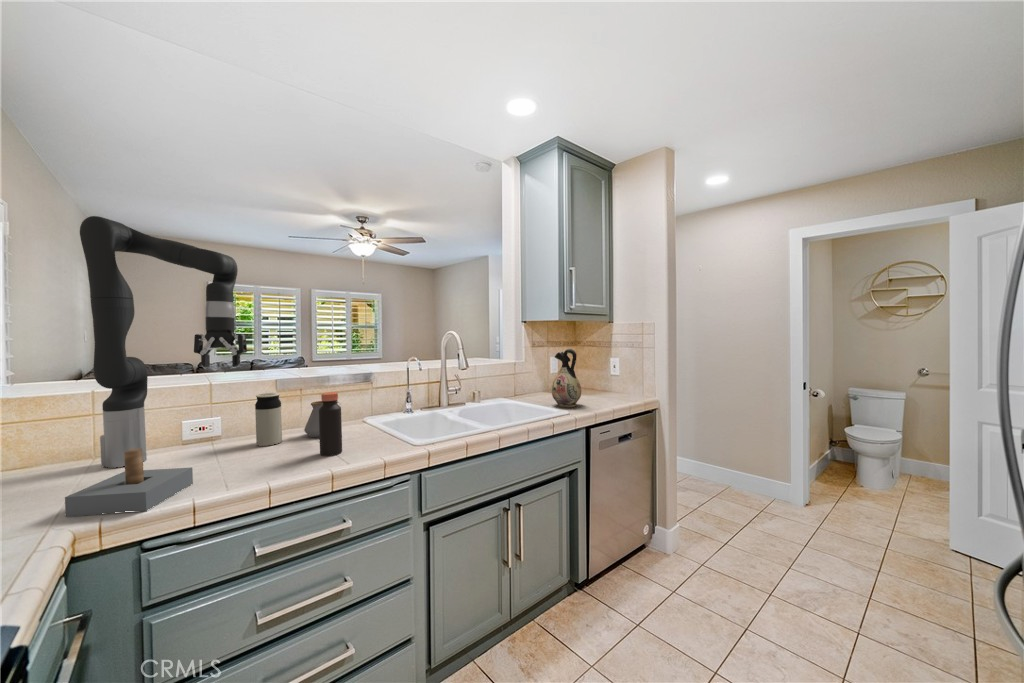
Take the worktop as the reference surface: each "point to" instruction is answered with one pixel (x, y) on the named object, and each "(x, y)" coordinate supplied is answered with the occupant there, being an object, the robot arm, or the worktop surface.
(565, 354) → the ceramic jug
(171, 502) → the worktop surface
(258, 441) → the travel mug
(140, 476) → the peg
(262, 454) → the worktop surface
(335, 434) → the bottle
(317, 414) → the coffee pot
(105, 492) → the hole block
